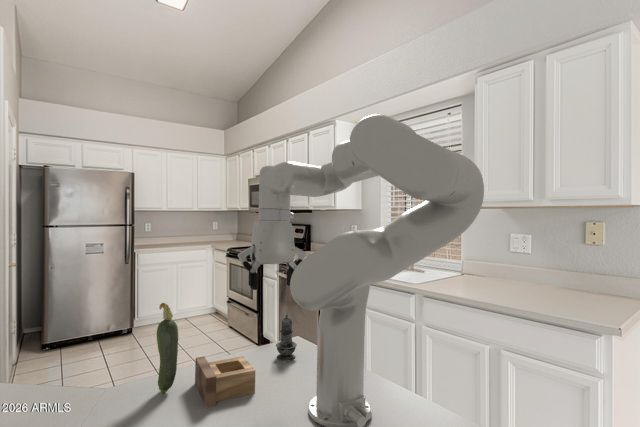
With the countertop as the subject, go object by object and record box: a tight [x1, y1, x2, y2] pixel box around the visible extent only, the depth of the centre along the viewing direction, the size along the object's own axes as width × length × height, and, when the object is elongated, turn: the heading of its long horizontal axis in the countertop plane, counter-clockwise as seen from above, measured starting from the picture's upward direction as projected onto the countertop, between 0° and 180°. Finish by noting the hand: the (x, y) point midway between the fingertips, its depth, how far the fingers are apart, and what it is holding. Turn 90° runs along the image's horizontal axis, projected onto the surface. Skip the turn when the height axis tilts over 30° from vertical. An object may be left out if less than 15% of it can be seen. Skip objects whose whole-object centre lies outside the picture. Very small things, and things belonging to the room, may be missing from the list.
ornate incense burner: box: [275, 314, 298, 362], centre depth 100 cm, size 6×6×12 cm
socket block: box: [208, 356, 256, 403], centre depth 81 cm, size 9×9×5 cm
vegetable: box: [156, 302, 179, 394], centre depth 78 cm, size 4×4×20 cm
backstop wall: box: [194, 356, 217, 408], centre depth 78 cm, size 12×2×6 cm, turn 29°
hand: (272, 287), depth 86 cm, fingers open, 9 cm apart
